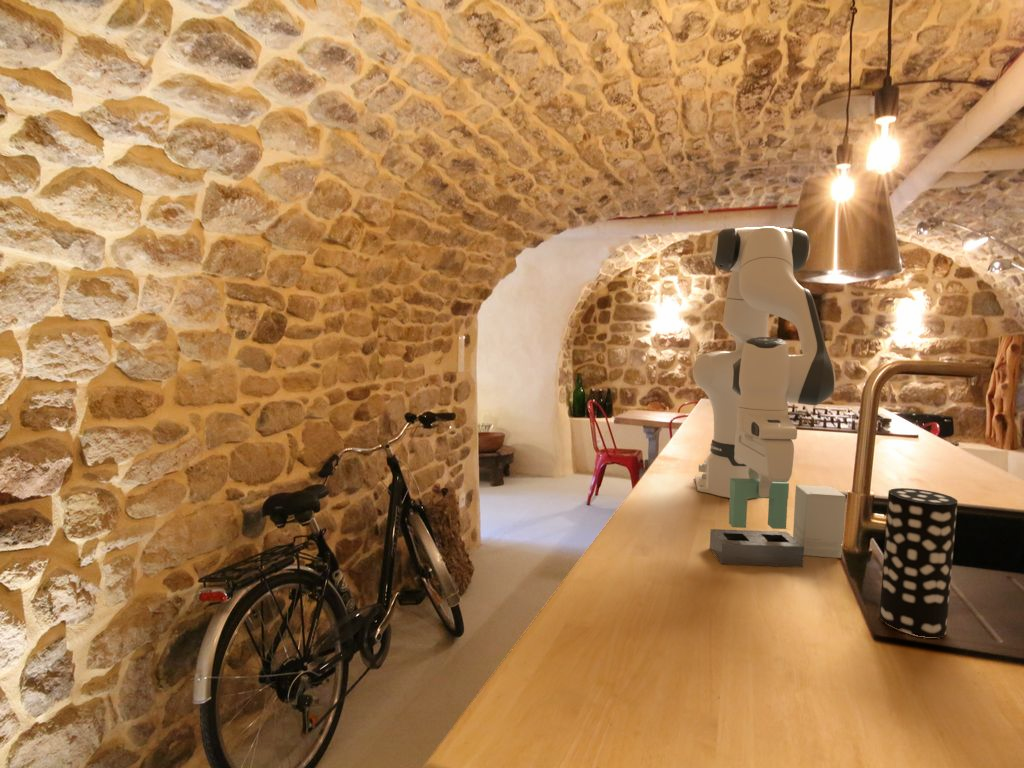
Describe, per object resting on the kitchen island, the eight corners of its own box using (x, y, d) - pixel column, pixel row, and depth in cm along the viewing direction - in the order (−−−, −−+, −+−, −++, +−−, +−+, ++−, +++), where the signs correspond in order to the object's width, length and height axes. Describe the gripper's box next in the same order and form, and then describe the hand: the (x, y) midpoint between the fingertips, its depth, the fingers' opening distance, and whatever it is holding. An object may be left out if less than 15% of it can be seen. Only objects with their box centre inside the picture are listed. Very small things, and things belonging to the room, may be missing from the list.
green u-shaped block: (728, 522, 112) (730, 478, 111) (780, 524, 111) (782, 479, 110) (733, 527, 109) (735, 482, 108) (786, 529, 108) (788, 483, 107)
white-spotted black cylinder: (886, 605, 91) (895, 485, 90) (950, 624, 86) (961, 496, 84) (873, 623, 86) (882, 495, 84) (940, 645, 80) (952, 508, 78)
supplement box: (843, 559, 110) (847, 496, 109) (802, 555, 112) (805, 493, 110) (829, 545, 117) (833, 485, 116) (791, 542, 119) (794, 483, 118)
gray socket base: (709, 548, 115) (710, 529, 115) (785, 550, 114) (786, 531, 114) (721, 564, 107) (722, 543, 107) (802, 567, 106) (804, 546, 106)
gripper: (728, 414, 118) (725, 478, 120) (764, 431, 98) (760, 508, 99) (758, 414, 118) (755, 479, 119) (802, 431, 98) (797, 509, 99)
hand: (758, 492), depth 109 cm, fingers closed on green u-shaped block, 3 cm apart
